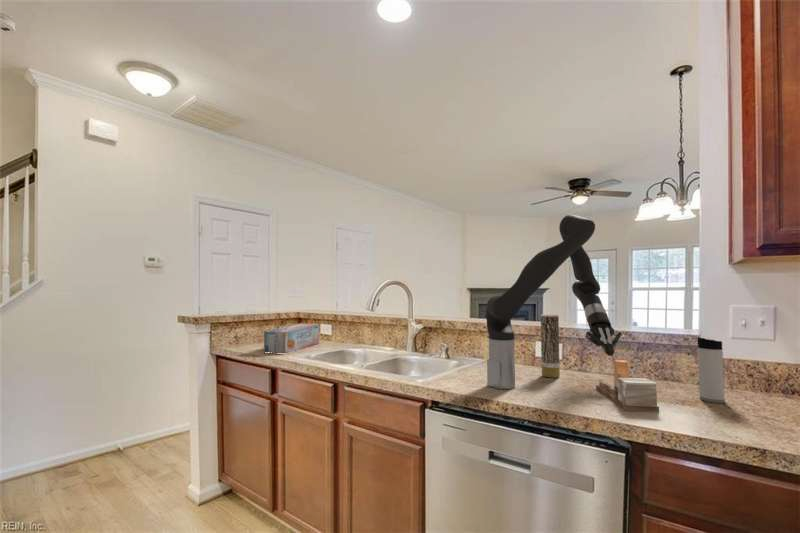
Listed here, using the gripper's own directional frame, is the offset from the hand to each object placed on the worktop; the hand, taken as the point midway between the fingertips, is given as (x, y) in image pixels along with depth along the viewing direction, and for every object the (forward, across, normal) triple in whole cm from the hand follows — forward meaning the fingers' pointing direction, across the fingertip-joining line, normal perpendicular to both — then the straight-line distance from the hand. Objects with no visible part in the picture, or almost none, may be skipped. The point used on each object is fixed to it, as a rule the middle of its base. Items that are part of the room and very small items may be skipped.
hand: (610, 354), depth 135 cm
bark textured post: (-3, +17, -21) cm, 27 cm away
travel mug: (+16, -26, -2) cm, 31 cm away
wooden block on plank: (+17, +1, 0) cm, 17 cm away
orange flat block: (+18, +1, +3) cm, 18 cm away
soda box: (-39, +150, -57) cm, 165 cm away
